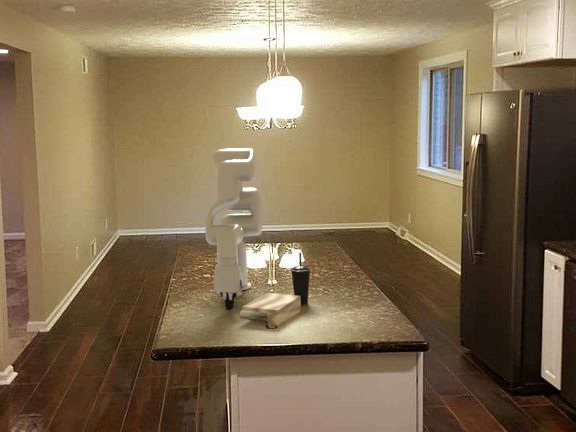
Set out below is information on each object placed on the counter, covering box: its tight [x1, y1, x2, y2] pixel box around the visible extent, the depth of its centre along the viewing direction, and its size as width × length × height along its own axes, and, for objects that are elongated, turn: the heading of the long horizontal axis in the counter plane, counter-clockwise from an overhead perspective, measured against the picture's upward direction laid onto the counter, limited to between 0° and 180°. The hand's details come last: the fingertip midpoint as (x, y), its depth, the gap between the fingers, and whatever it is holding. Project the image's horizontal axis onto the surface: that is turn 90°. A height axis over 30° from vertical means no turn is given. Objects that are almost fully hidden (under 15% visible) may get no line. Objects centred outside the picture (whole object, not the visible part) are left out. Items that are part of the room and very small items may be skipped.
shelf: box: [241, 292, 302, 328], centre depth 261 cm, size 14×20×6 cm
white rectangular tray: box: [239, 310, 268, 319], centre depth 264 cm, size 14×7×2 cm, turn 69°
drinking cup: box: [290, 252, 312, 306], centre depth 277 cm, size 8×8×20 cm
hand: (229, 309), depth 269 cm, fingers closed
